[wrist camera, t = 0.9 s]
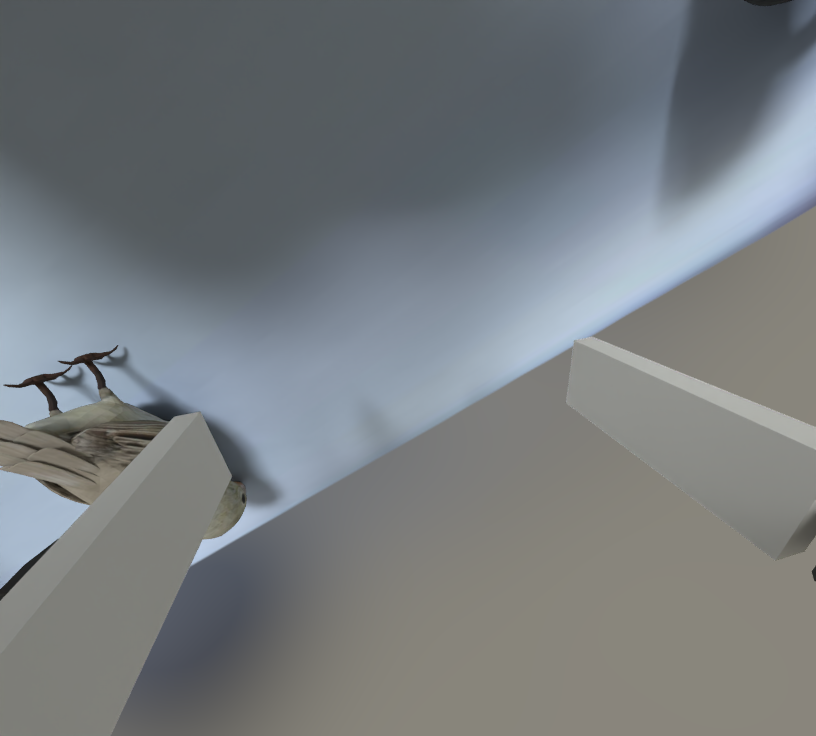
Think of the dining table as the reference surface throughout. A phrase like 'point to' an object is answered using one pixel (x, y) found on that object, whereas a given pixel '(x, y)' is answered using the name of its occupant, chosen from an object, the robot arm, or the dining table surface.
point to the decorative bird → (92, 447)
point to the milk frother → (766, 2)
